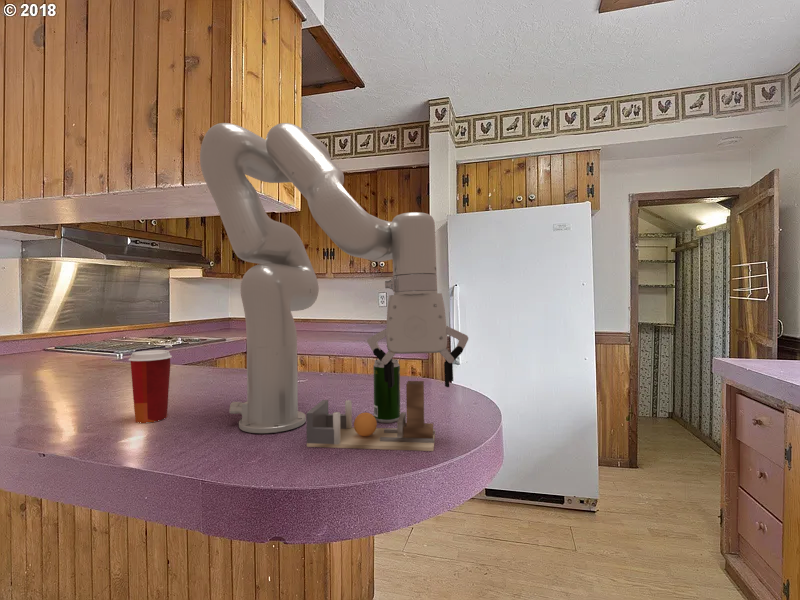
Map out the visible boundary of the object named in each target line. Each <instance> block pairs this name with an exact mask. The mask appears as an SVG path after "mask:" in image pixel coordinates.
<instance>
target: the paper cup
mask: <svg viewBox="0 0 800 600" xmlns="http://www.w3.org/2000/svg"><path fill="white" fill-rule="evenodd" d="M171 358H173V356H172V354H171V353H170V350H167V349H166V350H165V349H161V350H160V349H153V350H151V349H150V350H142V351H136V352H135V351H133V352H132V353H131V355H130V356H129V358H128V359H127V361H130V370H131V371H130V373H131V383H132V396H133V398H132V399H133V410H134V411H133V413H134V421H135V423H137V422H139V423H138V424H147V423H146V422H152V423H155V422H154V421H157V422H159V421H158V420H161V421H163V420H162V419H164V418H166V417H168V407H169V406H168V405H169V391H170V390H169V388H170V374H171ZM166 419H167V418H166ZM164 420H165V419H164ZM140 422H141V423H140Z"/></svg>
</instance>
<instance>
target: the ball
mask: <svg viewBox="0 0 800 600" xmlns="http://www.w3.org/2000/svg"><path fill="white" fill-rule="evenodd" d="M377 426H378V423H377V421H376V419H375V417H374V414H372V413H370V412H362V413H359V414H358V415H357V416H355V419H354V421H353V427H354V429H355V431H356V432H357V433H358V434H359V435H361V436H369V435H371V434H373V433H374V431H375V430H376V428H378V427H377Z"/></svg>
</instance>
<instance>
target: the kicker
mask: <svg viewBox="0 0 800 600" xmlns="http://www.w3.org/2000/svg"><path fill="white" fill-rule="evenodd" d="M405 388H406V400H405V401H406V405H405V406H406V411H405V412H403V411H402V412H401V411H400V417H399V419H398V421H396V423H397V424H396V425H397V427H396V428H397V438H402V437H403V438H433V429H434V423H430V422H427V423H426V422H425V381H424V380H408V381H407V382H406V384H405Z"/></svg>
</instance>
